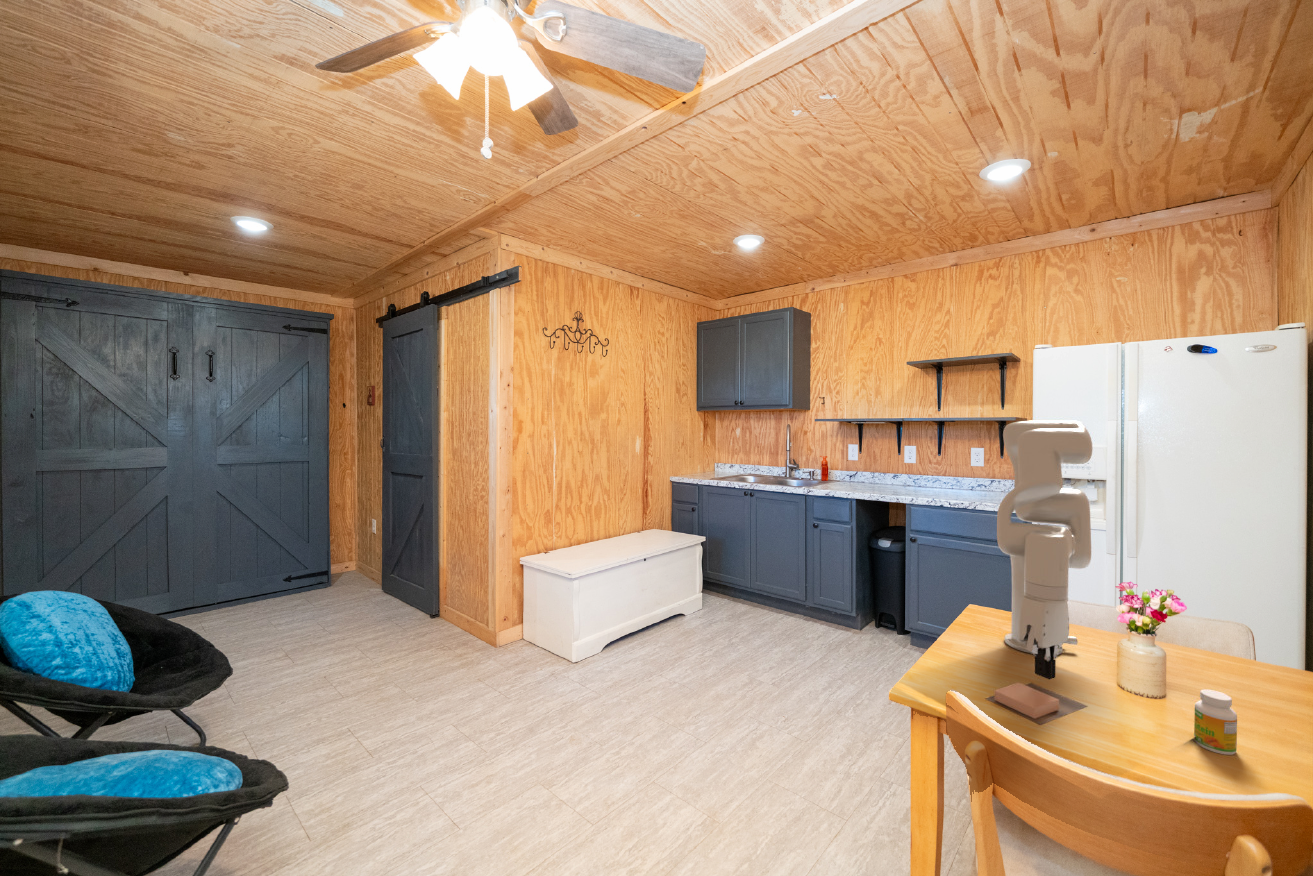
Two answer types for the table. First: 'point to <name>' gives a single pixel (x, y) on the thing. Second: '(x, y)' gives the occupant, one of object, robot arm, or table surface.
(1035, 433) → the robot arm
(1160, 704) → the table surface
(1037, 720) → the board
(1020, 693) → the tile
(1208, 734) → the supplement bottle
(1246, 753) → the table surface
